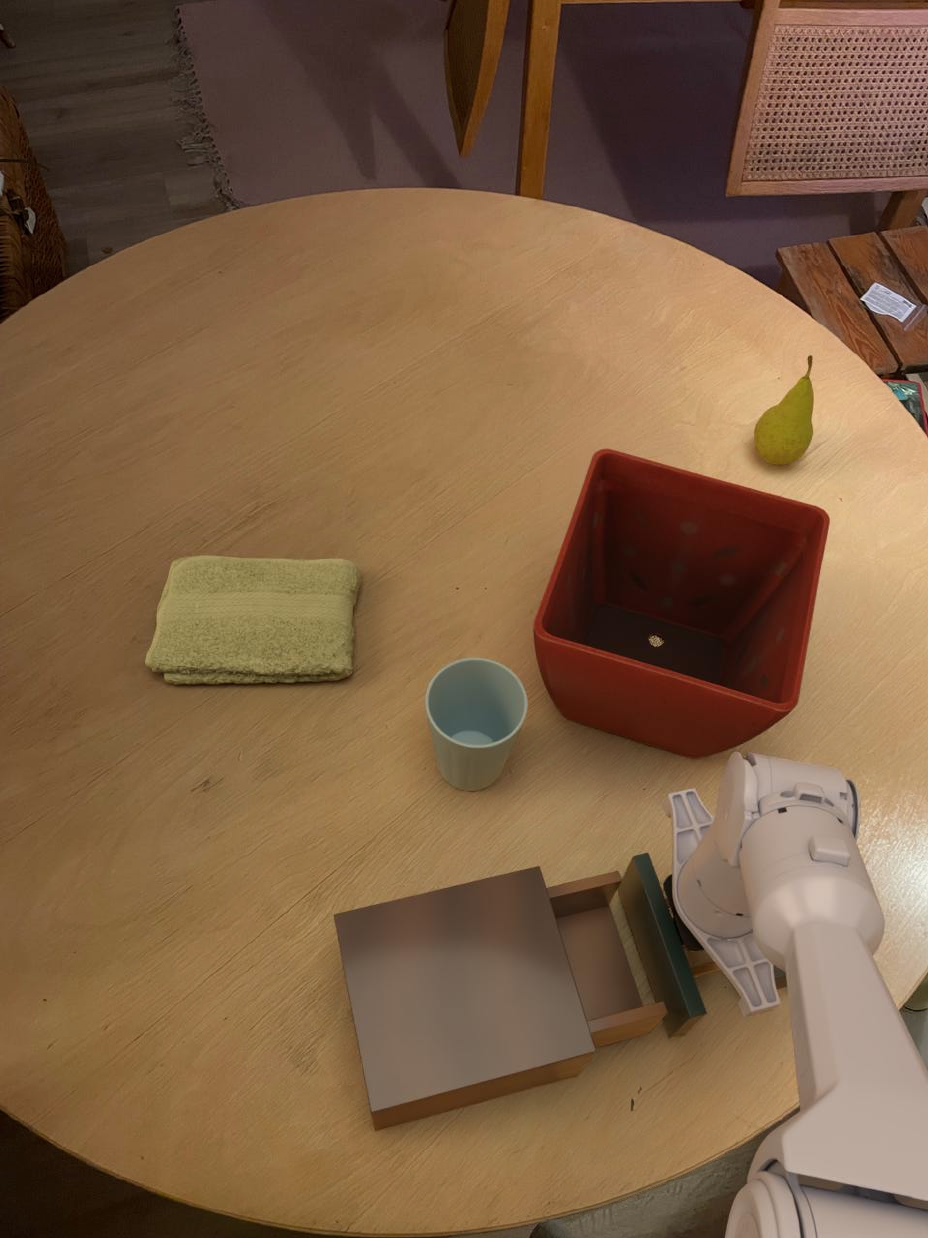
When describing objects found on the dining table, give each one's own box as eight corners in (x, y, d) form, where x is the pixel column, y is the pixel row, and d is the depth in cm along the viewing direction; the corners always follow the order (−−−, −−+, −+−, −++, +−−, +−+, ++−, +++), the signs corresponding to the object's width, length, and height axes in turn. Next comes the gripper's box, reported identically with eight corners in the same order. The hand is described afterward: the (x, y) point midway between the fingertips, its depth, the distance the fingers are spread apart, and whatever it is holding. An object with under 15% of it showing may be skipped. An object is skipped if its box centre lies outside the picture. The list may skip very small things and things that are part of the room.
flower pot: (733, 810, 85) (797, 714, 71) (510, 739, 87) (529, 632, 73) (770, 625, 95) (833, 508, 81) (569, 567, 97) (596, 444, 83)
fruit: (765, 485, 104) (803, 398, 94) (734, 445, 107) (768, 356, 97) (812, 469, 106) (855, 382, 96) (781, 429, 108) (818, 341, 98)
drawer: (682, 871, 81) (702, 839, 75) (738, 1020, 75) (765, 997, 69) (462, 925, 78) (466, 895, 72) (503, 1085, 72) (511, 1066, 66)
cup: (434, 813, 83) (437, 756, 75) (414, 730, 87) (415, 666, 79) (525, 794, 85) (539, 736, 76) (501, 713, 89) (512, 649, 80)
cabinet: (527, 904, 80) (539, 865, 72) (578, 1076, 73) (596, 1051, 66) (340, 950, 77) (333, 914, 70) (374, 1131, 71) (371, 1113, 63)
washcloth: (171, 564, 96) (164, 543, 93) (363, 570, 96) (361, 549, 94) (146, 688, 88) (138, 669, 86) (353, 694, 89) (352, 675, 86)
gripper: (852, 973, 60) (782, 1022, 71) (754, 750, 67) (704, 827, 79) (739, 1004, 58) (686, 1049, 70) (651, 773, 66) (616, 848, 77)
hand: (689, 933), depth 74 cm, fingers closed, pressing on drawer
